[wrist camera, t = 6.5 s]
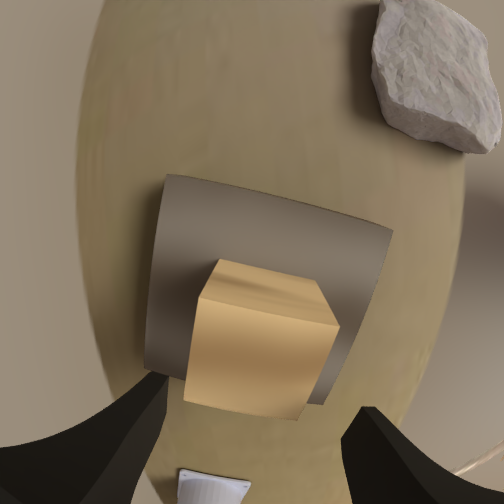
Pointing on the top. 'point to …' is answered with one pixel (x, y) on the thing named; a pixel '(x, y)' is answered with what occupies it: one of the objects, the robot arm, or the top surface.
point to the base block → (254, 263)
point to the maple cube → (258, 341)
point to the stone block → (435, 76)
